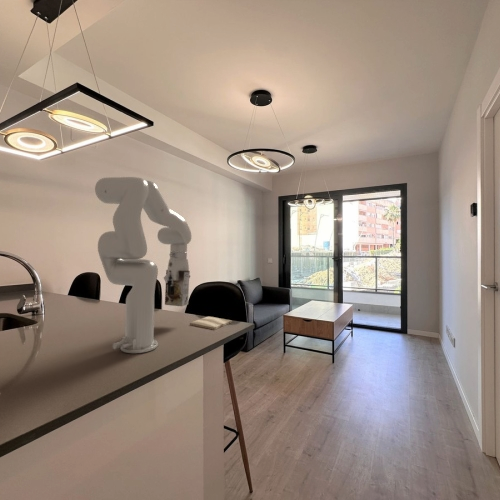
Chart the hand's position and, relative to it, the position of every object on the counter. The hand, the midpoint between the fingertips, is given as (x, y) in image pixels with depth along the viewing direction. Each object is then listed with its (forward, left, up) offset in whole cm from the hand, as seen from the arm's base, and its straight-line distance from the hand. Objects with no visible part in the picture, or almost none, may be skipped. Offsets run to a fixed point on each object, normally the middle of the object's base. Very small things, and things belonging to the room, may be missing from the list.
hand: (177, 293), depth 134 cm
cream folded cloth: (+10, -13, -14) cm, 21 cm away
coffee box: (0, 0, -5) cm, 5 cm away
